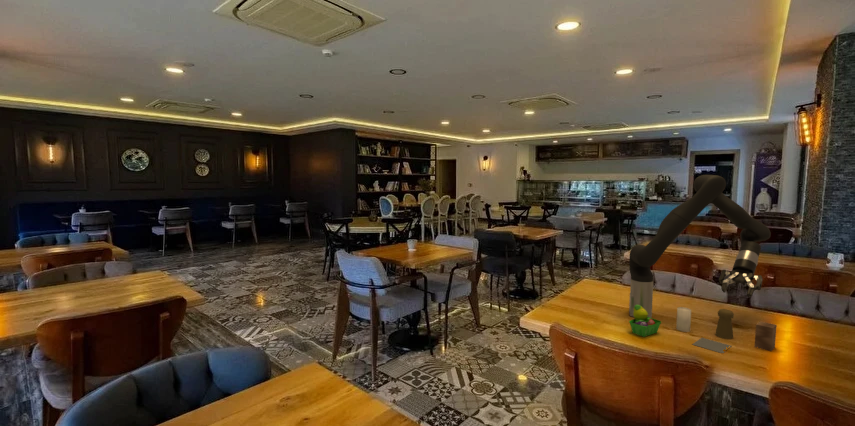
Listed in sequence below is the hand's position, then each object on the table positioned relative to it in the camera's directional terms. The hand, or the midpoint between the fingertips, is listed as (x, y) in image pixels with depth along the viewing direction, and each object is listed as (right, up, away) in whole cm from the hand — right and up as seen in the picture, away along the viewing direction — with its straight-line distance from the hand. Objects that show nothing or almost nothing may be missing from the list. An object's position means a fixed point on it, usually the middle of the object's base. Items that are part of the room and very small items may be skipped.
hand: (735, 293), depth 167 cm
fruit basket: (-39, -16, 0) cm, 43 cm away
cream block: (-21, -16, +2) cm, 26 cm away
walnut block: (-2, -17, -16) cm, 24 cm away
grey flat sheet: (-20, -17, -14) cm, 30 cm away
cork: (-9, -16, -5) cm, 19 cm away
